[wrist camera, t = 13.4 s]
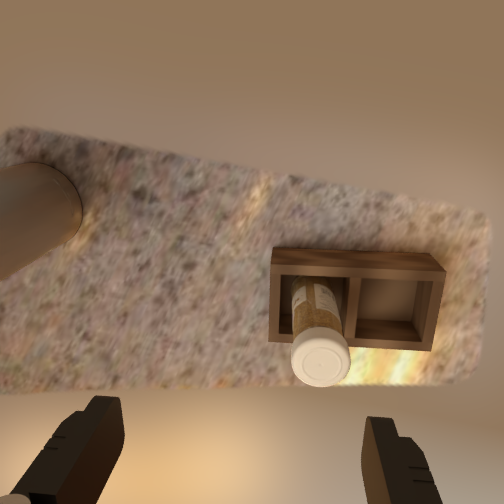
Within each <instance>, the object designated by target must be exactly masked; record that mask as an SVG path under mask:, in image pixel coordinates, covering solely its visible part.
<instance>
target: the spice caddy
mask: <svg viewBox="0 0 504 504" xmlns="http://www.w3.org/2000/svg"><path fill="white" fill-rule="evenodd" d="M299 275H307V276H327V277H328V278H329V280H330V281H331V283H332V285H333V295H334V297H335V300H336V304H337V309H338V313H339V316H340V321H341V325H342V333H343V337H344V339H345V340H346V342H347V345H348V346H349V347H366V348H382V349H399V350H416V351H431V349H432V344H433V339H434V334H435V328H436V323H437V318H438V313H439V308H440V303H441V297H442V292H443V287H444V282H445V277H446V271H445V270H444V269H443V268H442V267H441V265H440V264H439V263H438V262H437V261H436V260H435V259H434V258H433V257H432V256H431V255H430V254H424V253H399V252H374V251H349V250H324V249H299V248H274V247H273V250H272V257H271V268H270V304H269V340H268V342H282V343H293V341H294V340H293V322H292V295H291V287H292V283H293V281H294V280H295V278H296V277H297V276H299Z"/></svg>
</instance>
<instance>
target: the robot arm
mask: <svg viewBox="0 0 504 504" xmlns="http://www.w3.org/2000/svg"><path fill="white" fill-rule="evenodd" d="M81 220H82V206H81V201H80V198H79V196H78V193H77V191H76V189H75V188H74V186H73V185H72V183H71V182H70V181H69V180H68V179H67V178H66V177H65V176H64V175H63V174H62V173H60V172H59V171H58V170H56V169H54V168H52V167H50V166H48V165H45V164H41V163H32V162H31V163H24V164H19V165H15V166H10V167H6V168H0V281H2V280H4V279H5V278H7V277H9V276H10V275H12V274H14V273H15V272H17V271H19V270H20V269H22V268H24V267H25V266H27V265H28V264H30V263H32V262H33V261H35V260H37V259H38V258H40V257H42V256H43V255H45V254H47V253H49V252H50V251H52V250H53V249H55V248H57V247H58V246H60V245H61V244H63V243H65V242H66V241H68V240H69V239H71V238H72V237H73V236H74V235H75V234H76V232H77V230H78V229H79V227H80V224H81ZM124 437H125V433H124V425H123V418H122V410H121V403H120V399H119V398H118V397H110V396H94V397H93V398H92V400H91V401H90V402H89V404H88V405H87V407H86V408H85V410H84V411H75V412H74V413H73V414H72V415H70V416H69V417H68V418H66V419H65V420H64V421H63V422H61V424H60V425H59V427H58V428H57V429H56V431H55V432H54V434H53V435H52V438H50V439H49V440H48V442H47V443H46V445H45V446H44V449H43V450H41V451H40V453H39V454H38V456H37V457H36V458H35V460H34V461H33V462H32V464H31V465H30V467H29V468H28V469H27V471H26V472H25V474H24V475H23V476H22V478H21V479H20V480H19V482H18V483H17V485H16V486H15V488H14V489H13V490H12V491H11V493H10V494H9V495H5V496H2V497H0V504H96V503H97V501H98V499H99V497H100V495H101V493H102V490H103V489H104V487H105V485H106V483H107V480H108V478H109V476H110V474H111V472H112V470H113V468H114V466H115V464H116V462H117V460H118V458H119V456H120V454H121V451H122V448H123V444H124ZM361 467H362V476H363V481H364V486H365V492H366V497H367V502H368V504H443V503H442V500H441V498H440V495H439V492H438V490H437V487H436V485H435V484H434V479H433V477H432V474H431V472H430V471H429V466H428V463H427V461H426V458H425V455H424V453H423V451H422V450H421V449H420V448H419V447H418V445H417V444H416V443H415V442H414V441H413V440H412V438H410V437H399V436H398V433H397V430H396V427H395V424H394V421H393V419H392V418H384V417H370V416H368V417H367V418H366V424H365V431H364V439H363V446H362V454H361Z"/></svg>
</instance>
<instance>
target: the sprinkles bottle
mask: <svg viewBox="0 0 504 504" xmlns="http://www.w3.org/2000/svg"><path fill="white" fill-rule="evenodd" d="M291 295H292V322H293V340H294V341H293V344H292V348H291V362H292V368H293V371H294V373H295V374H296V376H297V377H298V378H299V379H300V380H301V381H303V382H304V383H306V384H308V385H311V386H315V387H328V386H332V385H335V384H337V383H338V382H340V381H341V380H342V379H344V378H345V376H346V375H347V373H348V372H349V369H350V365H351V359H350V353H349V348H348V345H347V342H346V340H345V339H344V337H343V333H342V325H341V321H340V316H339V313H338V309H337V304H336V300H335V297H334V295H333V285H332V283H331V281H330V280H329V278H328V277H327V276H307V275H299V276H297V277H296V278H295V280H294V281H293V283H292V287H291Z"/></svg>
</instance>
